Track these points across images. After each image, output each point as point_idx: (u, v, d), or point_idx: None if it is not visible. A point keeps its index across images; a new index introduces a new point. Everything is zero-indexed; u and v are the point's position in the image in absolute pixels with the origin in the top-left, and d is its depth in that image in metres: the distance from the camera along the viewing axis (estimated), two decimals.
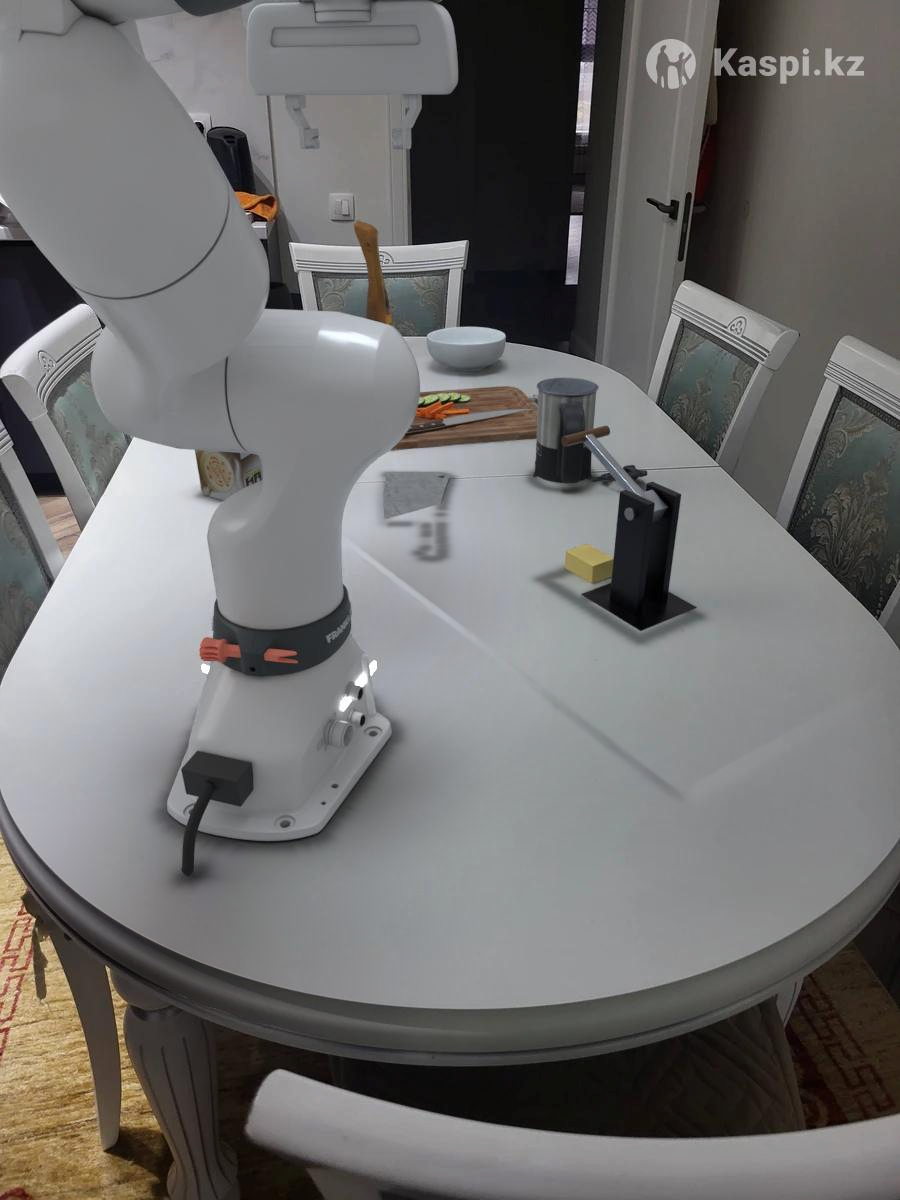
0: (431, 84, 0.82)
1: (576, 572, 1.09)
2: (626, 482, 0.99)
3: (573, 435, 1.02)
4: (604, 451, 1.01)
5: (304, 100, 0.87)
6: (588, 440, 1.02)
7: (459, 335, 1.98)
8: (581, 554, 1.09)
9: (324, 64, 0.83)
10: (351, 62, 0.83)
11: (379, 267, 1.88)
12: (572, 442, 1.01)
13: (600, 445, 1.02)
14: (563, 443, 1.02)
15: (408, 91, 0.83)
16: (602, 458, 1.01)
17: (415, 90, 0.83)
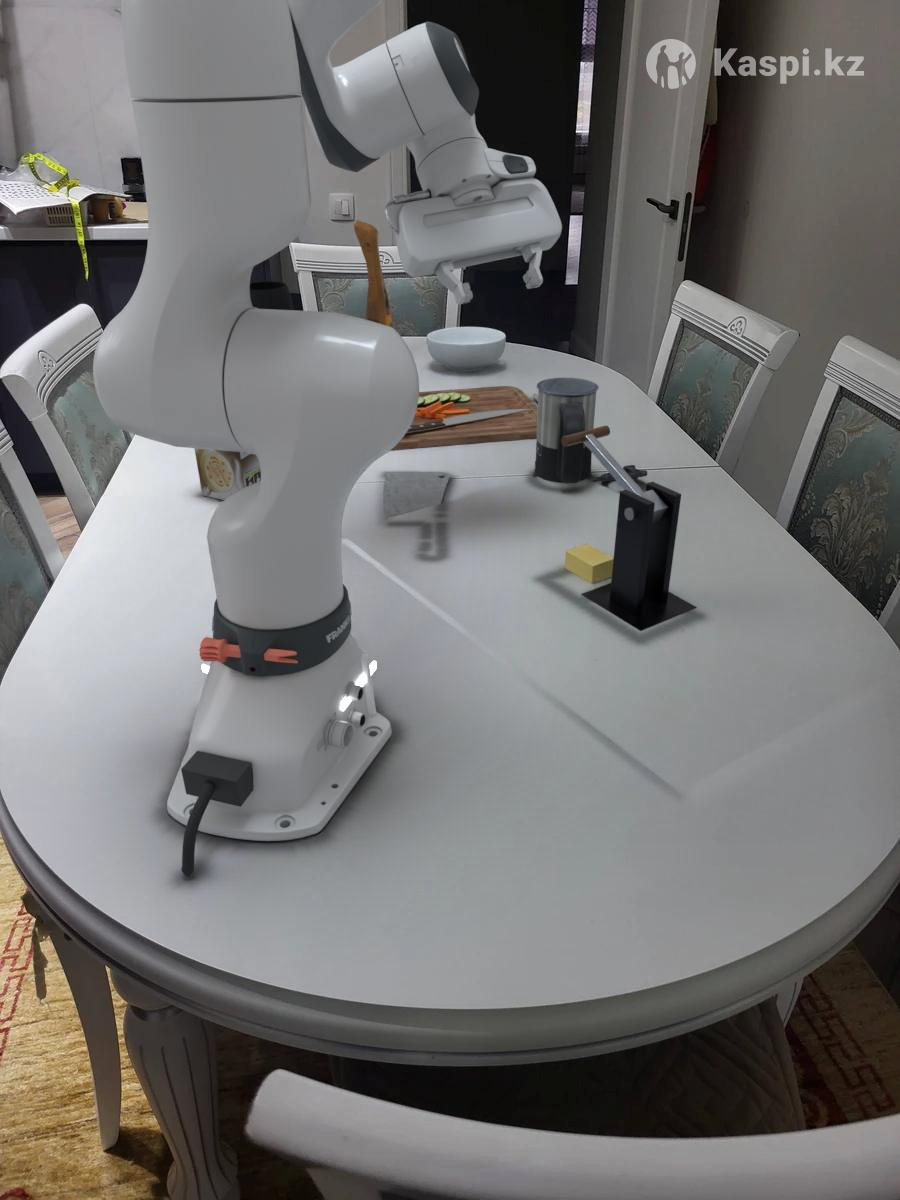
0: (550, 230, 1.05)
1: (576, 572, 1.09)
2: (626, 482, 0.99)
3: (573, 435, 1.02)
4: (604, 451, 1.01)
5: None
6: (588, 440, 1.02)
7: (459, 335, 1.98)
8: (581, 554, 1.09)
9: (470, 231, 1.02)
10: (489, 227, 1.03)
11: (379, 267, 1.88)
12: (572, 442, 1.01)
13: (600, 445, 1.02)
14: (563, 443, 1.02)
15: (535, 238, 1.05)
16: (602, 458, 1.01)
17: (540, 236, 1.05)
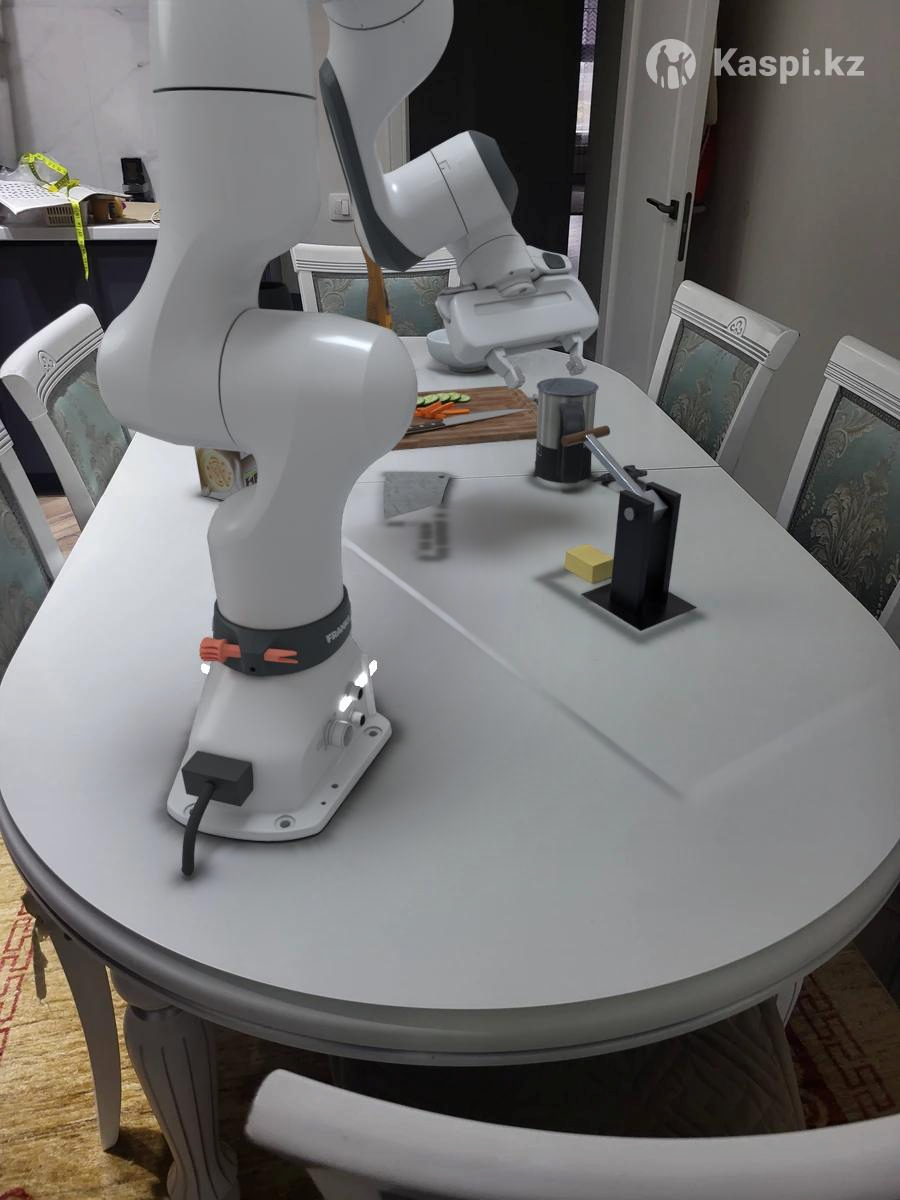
0: (589, 321, 1.09)
1: (576, 572, 1.09)
2: (626, 482, 0.99)
3: (573, 435, 1.02)
4: (604, 451, 1.01)
5: None
6: (588, 440, 1.02)
7: None
8: (581, 554, 1.09)
9: (517, 320, 1.04)
10: (534, 317, 1.05)
11: (379, 267, 1.88)
12: (572, 442, 1.01)
13: (600, 445, 1.02)
14: (563, 443, 1.02)
15: (577, 328, 1.08)
16: (602, 458, 1.01)
17: (581, 327, 1.08)
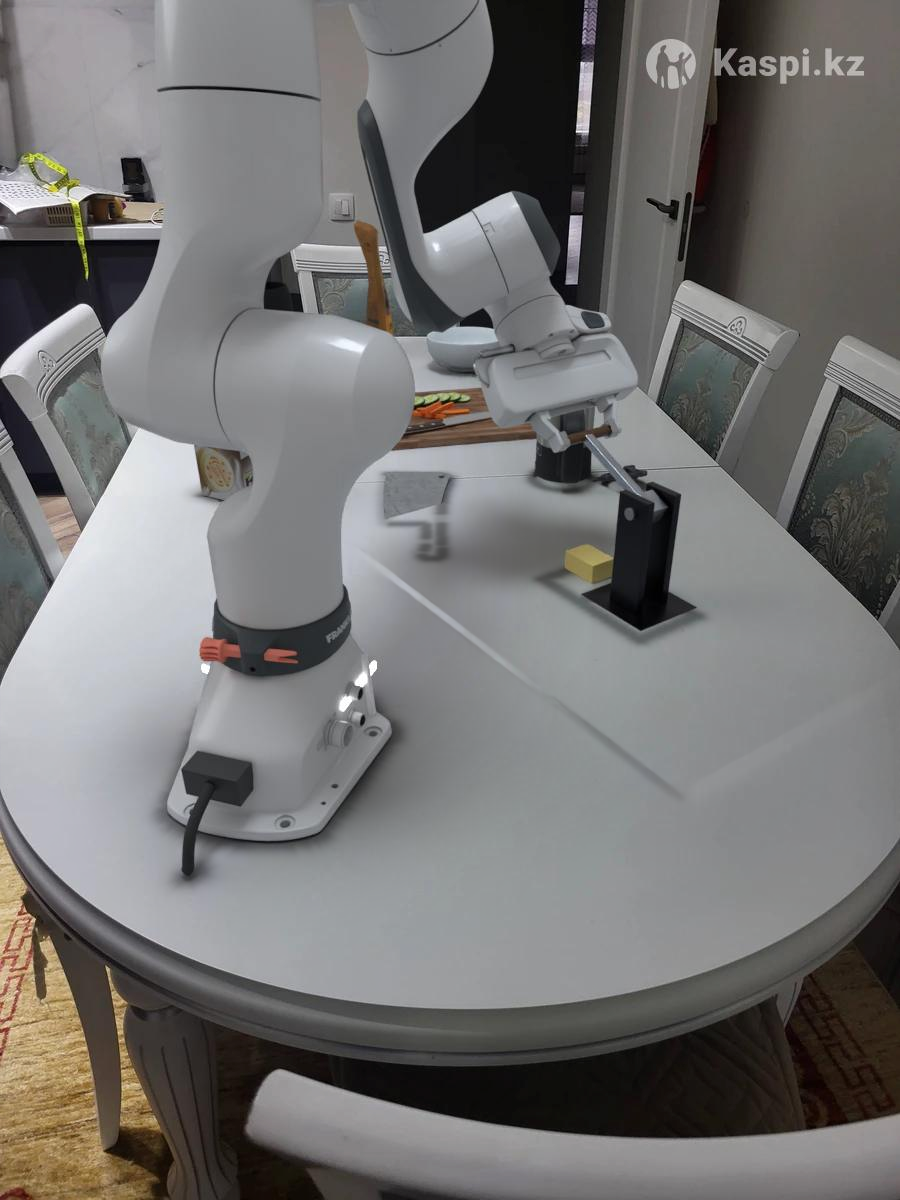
0: (629, 381, 1.06)
1: (576, 572, 1.09)
2: (626, 482, 0.99)
3: (573, 435, 1.02)
4: (604, 451, 1.01)
5: None
6: (588, 440, 1.02)
7: (459, 335, 1.98)
8: (581, 554, 1.09)
9: (557, 383, 1.02)
10: (574, 379, 1.03)
11: (379, 267, 1.88)
12: (572, 442, 1.01)
13: (600, 445, 1.02)
14: None
15: (616, 389, 1.05)
16: (602, 458, 1.01)
17: (621, 387, 1.05)
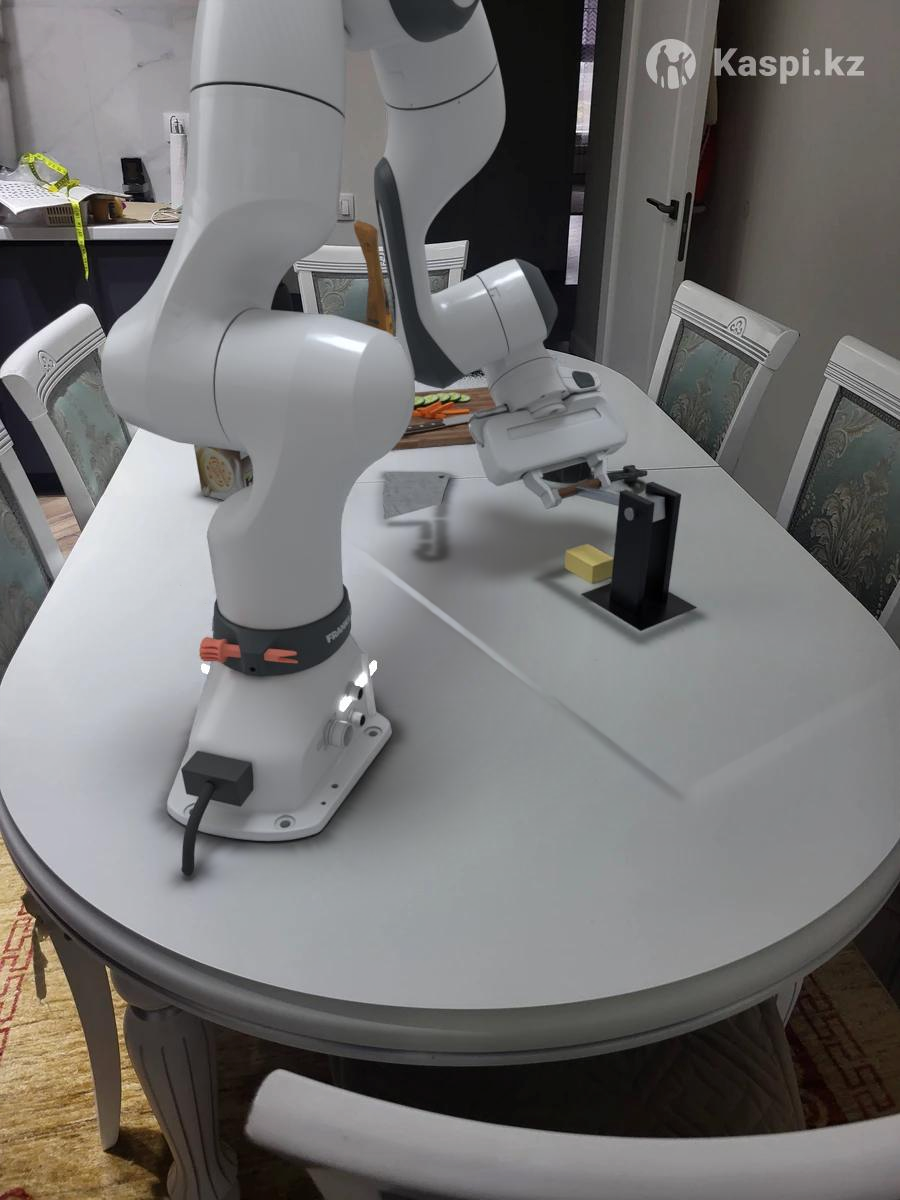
0: (618, 437, 1.10)
1: (576, 572, 1.09)
2: None
3: (562, 488, 1.06)
4: (595, 489, 1.05)
5: None
6: (578, 489, 1.06)
7: None
8: (581, 554, 1.09)
9: (549, 442, 1.06)
10: (565, 437, 1.07)
11: (379, 267, 1.88)
12: (563, 493, 1.06)
13: (590, 488, 1.05)
14: None
15: (606, 445, 1.09)
16: (595, 494, 1.04)
17: (610, 443, 1.10)
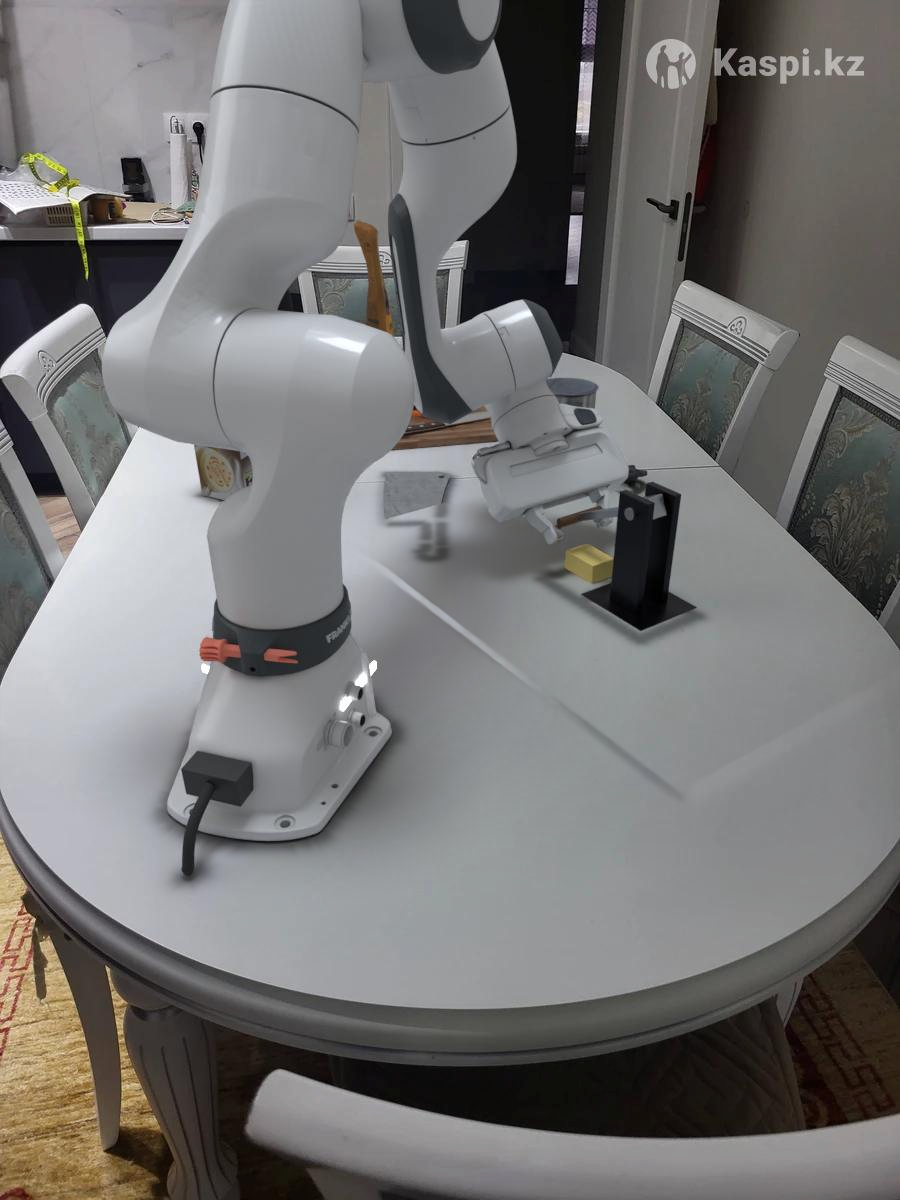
0: (620, 473, 1.12)
1: (576, 572, 1.09)
2: None
3: (565, 516, 1.07)
4: (597, 510, 1.05)
5: None
6: (581, 514, 1.07)
7: None
8: (581, 554, 1.09)
9: (551, 478, 1.08)
10: (567, 473, 1.09)
11: (379, 267, 1.88)
12: (566, 519, 1.06)
13: (592, 510, 1.06)
14: (560, 525, 1.07)
15: (608, 481, 1.11)
16: (597, 513, 1.04)
17: (612, 479, 1.11)
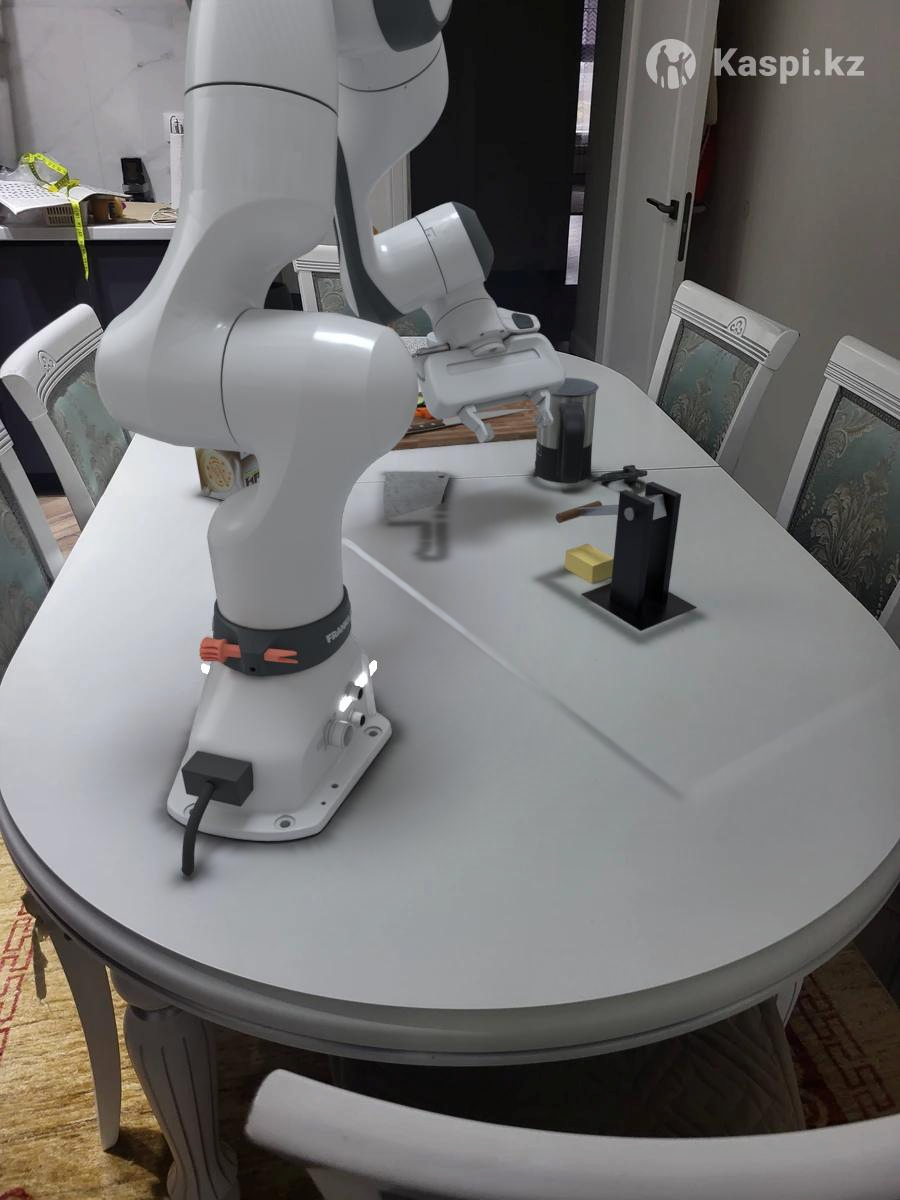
0: (556, 377, 1.16)
1: (576, 572, 1.09)
2: None
3: (564, 511, 1.07)
4: (596, 506, 1.05)
5: None
6: (580, 509, 1.07)
7: None
8: (581, 554, 1.09)
9: (488, 378, 1.11)
10: (504, 374, 1.13)
11: None
12: (565, 514, 1.06)
13: (592, 506, 1.06)
14: (559, 520, 1.06)
15: (544, 384, 1.15)
16: (596, 510, 1.04)
17: (548, 382, 1.15)
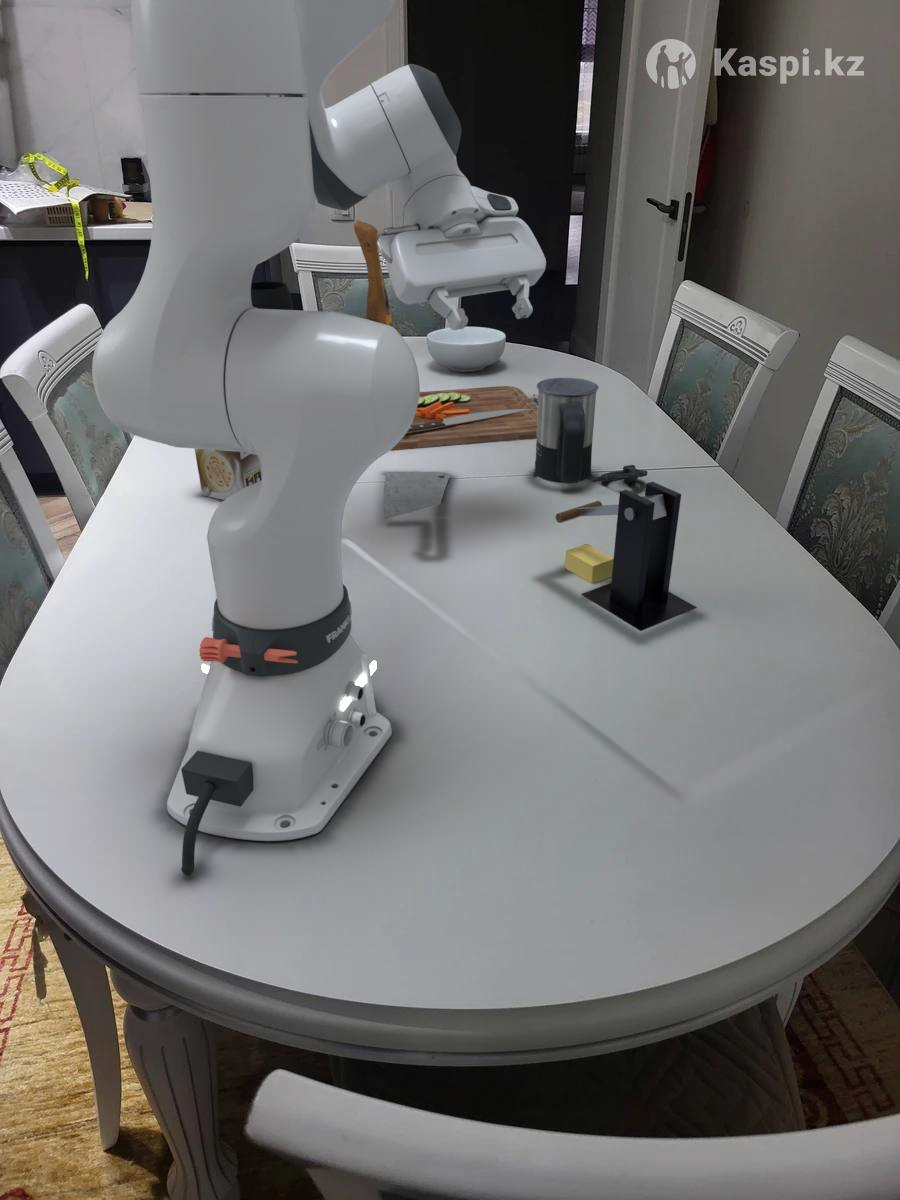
0: (536, 264, 1.08)
1: (576, 572, 1.09)
2: None
3: (564, 511, 1.07)
4: (596, 506, 1.05)
5: None
6: (580, 509, 1.07)
7: (459, 335, 1.98)
8: (581, 554, 1.09)
9: (461, 261, 1.03)
10: (479, 258, 1.04)
11: (379, 267, 1.88)
12: (565, 514, 1.06)
13: (592, 506, 1.06)
14: (559, 520, 1.06)
15: (523, 270, 1.07)
16: (596, 510, 1.04)
17: (527, 269, 1.07)
